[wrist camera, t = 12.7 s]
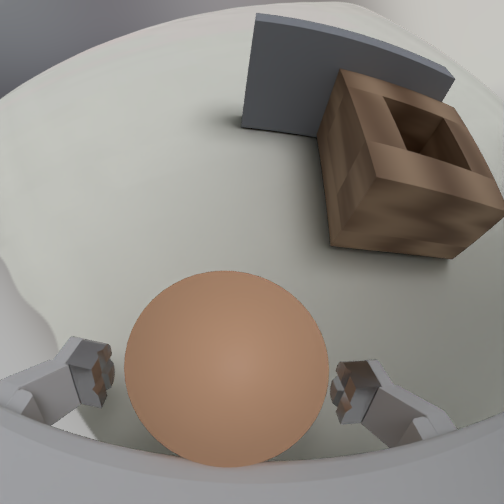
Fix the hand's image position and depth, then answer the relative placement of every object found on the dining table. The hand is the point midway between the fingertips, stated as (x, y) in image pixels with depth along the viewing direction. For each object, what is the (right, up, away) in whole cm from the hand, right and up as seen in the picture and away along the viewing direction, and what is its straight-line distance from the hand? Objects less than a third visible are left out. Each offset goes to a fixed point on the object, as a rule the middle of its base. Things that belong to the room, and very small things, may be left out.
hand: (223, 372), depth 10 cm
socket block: (+12, +9, +13) cm, 19 cm away
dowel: (-1, -3, +5) cm, 6 cm away
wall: (+8, +15, +16) cm, 23 cm away
